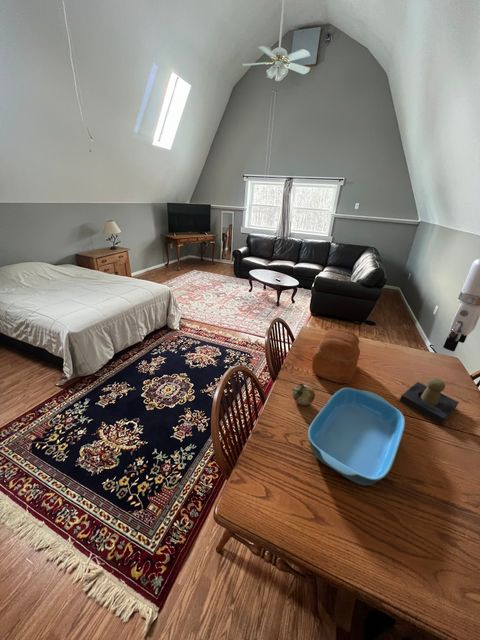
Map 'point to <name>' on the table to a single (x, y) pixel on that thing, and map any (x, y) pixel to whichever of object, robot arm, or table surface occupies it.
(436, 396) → the cork
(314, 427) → the casserole dish
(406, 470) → the table surface
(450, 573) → the table surface
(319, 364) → the bread
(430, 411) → the socket pad
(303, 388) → the onion
